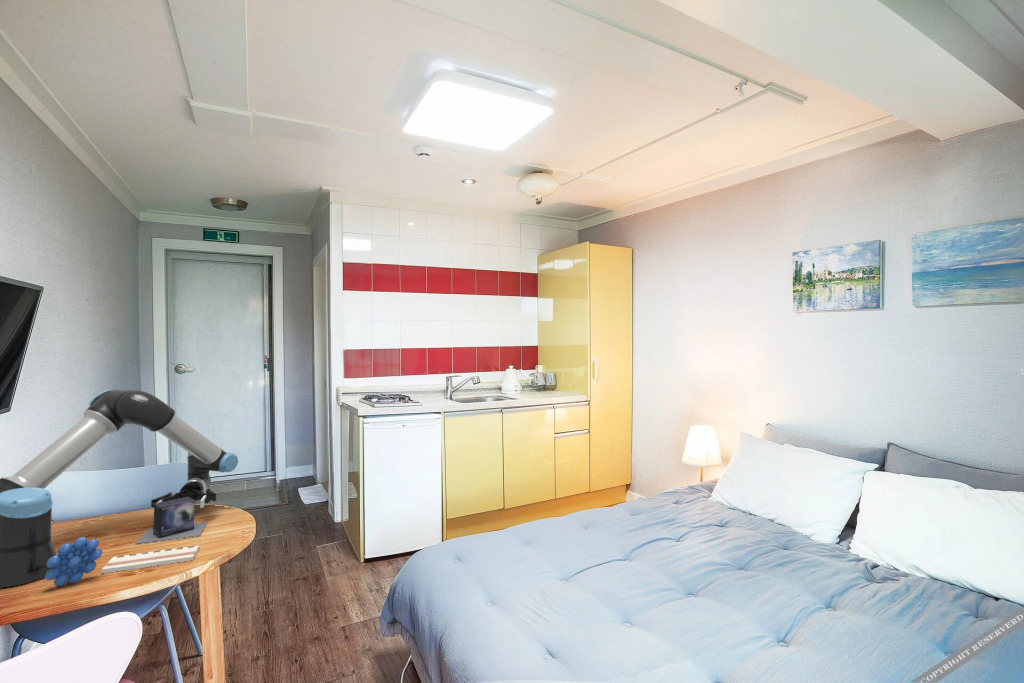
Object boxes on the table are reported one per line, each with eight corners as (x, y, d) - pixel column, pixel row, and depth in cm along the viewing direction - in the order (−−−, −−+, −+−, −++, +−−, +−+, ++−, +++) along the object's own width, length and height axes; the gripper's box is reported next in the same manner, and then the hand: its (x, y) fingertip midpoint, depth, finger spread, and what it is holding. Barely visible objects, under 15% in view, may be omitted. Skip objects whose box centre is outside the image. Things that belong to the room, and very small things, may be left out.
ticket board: (101, 573, 137) (101, 568, 137) (113, 560, 145) (113, 556, 145) (192, 560, 145) (192, 555, 145) (199, 549, 154) (199, 544, 154)
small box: (159, 538, 161) (159, 507, 161) (152, 534, 165) (152, 503, 165) (195, 529, 169) (195, 499, 169) (187, 525, 173) (188, 495, 173)
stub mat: (134, 544, 157) (134, 543, 157) (148, 529, 170) (148, 528, 170) (199, 536, 164) (199, 535, 164) (207, 522, 177) (208, 521, 177)
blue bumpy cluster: (99, 570, 139) (100, 528, 139) (103, 578, 134) (104, 534, 134) (43, 585, 130) (44, 540, 130) (45, 594, 126) (45, 547, 126)
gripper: (229, 496, 195) (219, 512, 176) (154, 503, 186) (135, 522, 166) (229, 477, 195) (219, 492, 176) (154, 484, 186) (135, 500, 166)
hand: (178, 506), depth 171 cm, fingers open, 13 cm apart
